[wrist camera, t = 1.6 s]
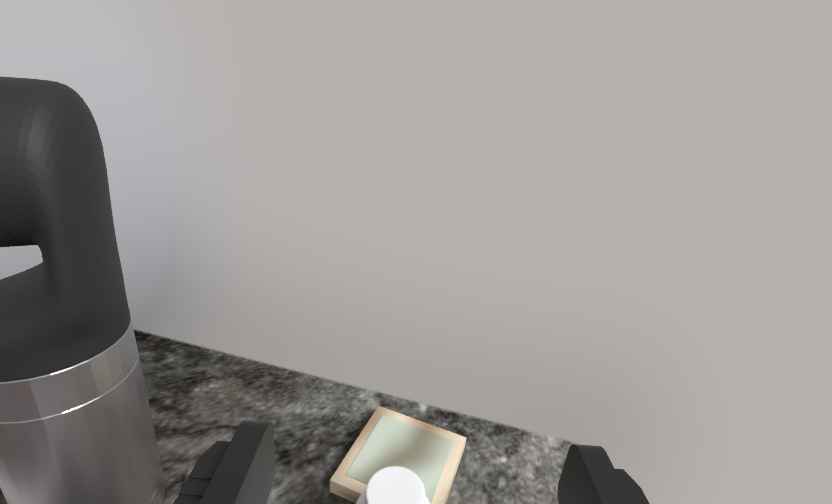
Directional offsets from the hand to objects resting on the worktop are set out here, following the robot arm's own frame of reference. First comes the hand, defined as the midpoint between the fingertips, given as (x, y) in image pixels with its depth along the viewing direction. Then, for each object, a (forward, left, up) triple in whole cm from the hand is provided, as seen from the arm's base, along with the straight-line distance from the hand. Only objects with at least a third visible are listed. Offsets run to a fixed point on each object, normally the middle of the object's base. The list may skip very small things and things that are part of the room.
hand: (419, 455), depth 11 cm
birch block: (-7, +20, -26) cm, 33 cm away
